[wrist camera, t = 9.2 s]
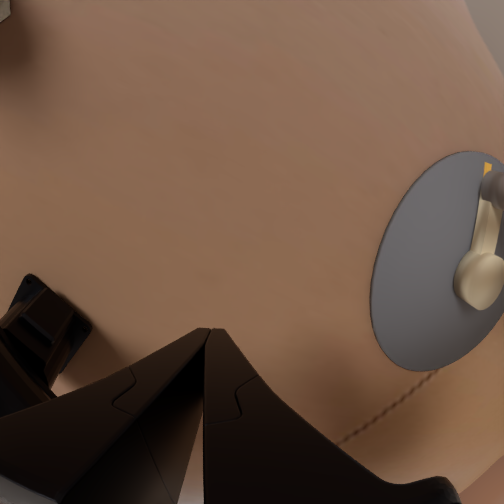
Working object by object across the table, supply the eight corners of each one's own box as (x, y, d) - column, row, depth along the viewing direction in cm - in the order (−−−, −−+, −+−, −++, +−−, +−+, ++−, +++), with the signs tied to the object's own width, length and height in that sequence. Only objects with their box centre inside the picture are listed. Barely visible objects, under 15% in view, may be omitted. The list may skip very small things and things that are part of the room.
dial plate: (427, 394, 30) (430, 398, 29) (316, 288, 23) (319, 292, 22) (535, 258, 27) (539, 259, 26) (477, 102, 20) (482, 102, 19)
